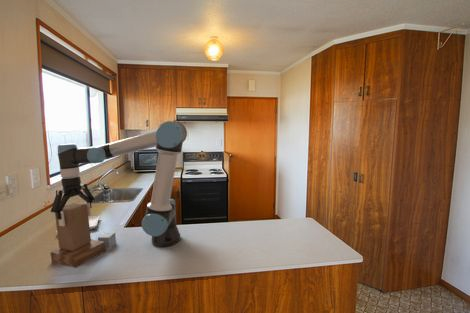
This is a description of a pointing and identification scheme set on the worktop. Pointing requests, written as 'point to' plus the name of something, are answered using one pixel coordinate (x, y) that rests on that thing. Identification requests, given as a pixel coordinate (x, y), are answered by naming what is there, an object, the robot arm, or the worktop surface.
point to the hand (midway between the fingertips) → (76, 220)
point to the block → (74, 227)
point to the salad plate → (92, 221)
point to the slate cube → (108, 239)
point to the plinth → (78, 254)
